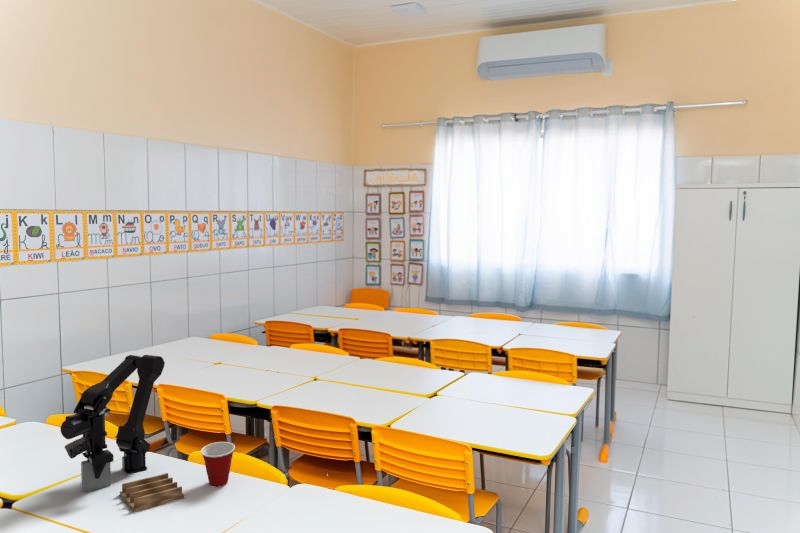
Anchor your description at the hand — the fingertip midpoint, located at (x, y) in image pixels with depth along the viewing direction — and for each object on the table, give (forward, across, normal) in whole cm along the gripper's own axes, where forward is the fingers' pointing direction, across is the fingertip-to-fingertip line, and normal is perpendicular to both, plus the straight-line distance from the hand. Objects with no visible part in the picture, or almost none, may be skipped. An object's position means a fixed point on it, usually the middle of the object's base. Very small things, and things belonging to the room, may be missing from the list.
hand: (96, 476), depth 198 cm
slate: (+4, 0, 0) cm, 4 cm away
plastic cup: (+4, +20, +32) cm, 38 cm away
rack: (+3, +17, +12) cm, 21 cm away
